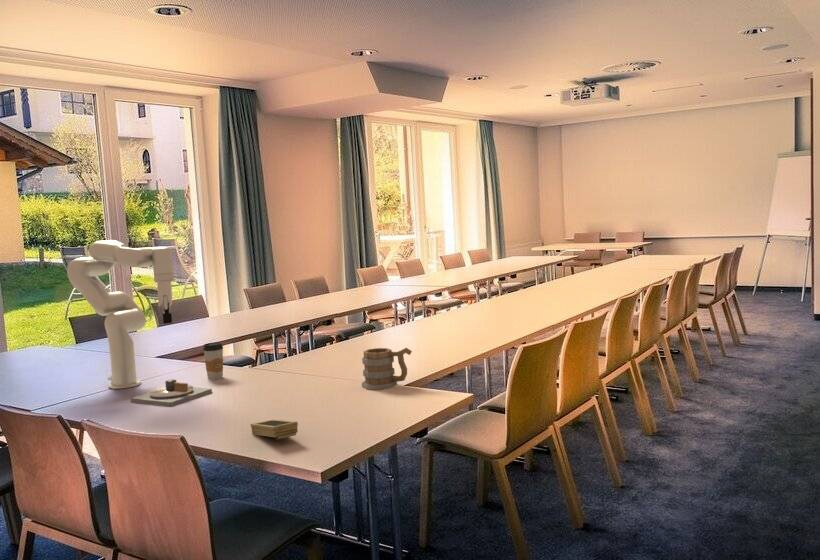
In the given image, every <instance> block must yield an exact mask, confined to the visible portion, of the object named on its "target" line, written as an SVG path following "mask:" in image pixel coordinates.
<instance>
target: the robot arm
mask: <svg viewBox="0 0 820 560" xmlns="http://www.w3.org/2000/svg"><path fill="white" fill-rule="evenodd" d="M88 254H89V256H85V257H78V258H75V259H73V260H71V261H70V262H68V264H67V268H66V273H67V278H68V280H69V282H70V284H71V286H73V288H74V289H75V290H76V291H78V292H79V294H81V295H82V296H83V298H84V299H85V300H86V302H87V303H88V304H89V305H90V307H92V309H93V310H94V311H95V312H96V313H97V314H98V315H99V316H102V317H103V316H106V317H105V320H104V329H105V332H106V336H107V339H108V346H109V347H108V349H109V359H110V371H111V374H110V376H108V377H107V380H108V381H110V382H111V383H109V384H108V388H109V389H113V390H117V389H118V390H119V389H120V390H121V389H129V388H133V387H134V388H135V387H137V386H139V385H141V384H142V381H141V380H140V379H138V378H137V369H136V357H135V355H136V354H135V346H134V344H135V343H134V341H133V338H132V336H130V334H129V333H131V332H136V331H140V330H142V329H143V328H144V327H145V326H146V324H147V320H146V319H147V318H146V315H145V312H143V310H142V309H141V308H140V306H138V304H137V303H136V302H135V300H134V299H133V298H132V296H130V295H129V294H128V293H126V292H124V291H112V292H111V291H108V290H107V289H106V288H105V287H104V286H103V285H102V283H100V282H98V281H97V280H95V279H93V278H92V277H98V276H104V275H106V274H107V273H109V272H110V271H111V270H112V269H113V268H114V267H115V266H116V265H117V264H118V265H119V266H123V267H131V268H141V267H151V266H152V268H153V279H154V283H156V285H157V286H156V287H157V289H156V290H157V300H158V303H157V304H158V307H159V308H161V306H162V320H163V321H162V323H163V324H171V323H173V316H172V311H171V306H172V304H173V290H172V282H175V275H174V262H173V251H172V249H171V247H168V246H163V247H155V246H154V247H153V246H152V247H151V246H149V247H138V248H137V247H135V248H132V247H128V245H127V244H125V243H123V242H120V241H118V240H115V239H108V240H106V239H105V240H97V241H95V242H93V243H91V244H90V246H89V247H88Z"/></svg>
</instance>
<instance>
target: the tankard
mask: <svg viewBox="0 0 820 560" xmlns="http://www.w3.org/2000/svg"><path fill="white" fill-rule="evenodd" d="M412 352H413V351H412V350H411V349H409V348H407V347H405V348H403V349H401V350H398V351H392V349H390V348H387V347H375V348H369V349H366V350H363V357H362V359H361V360H362V361H361V362H362V364H363V365H364V369H363V370H362V376H363V377H364V381H363V382H361V387H362V388H364V389H366V390H371V391H372V390H373V391H381V390H382V391H383V390H388V389H393V388H395V386H397V385H398V382H403V381H406V378H407V376H408V367H407V365H406V362H405V358H404V355H405V354H407V355H409V356H410V355H411V354H412ZM395 357H397V362H398V365H399V368H400V370H401V374H400V375H395V374H396V373H395V372H396V371H395V367H393V363H394V362H395Z"/></svg>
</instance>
